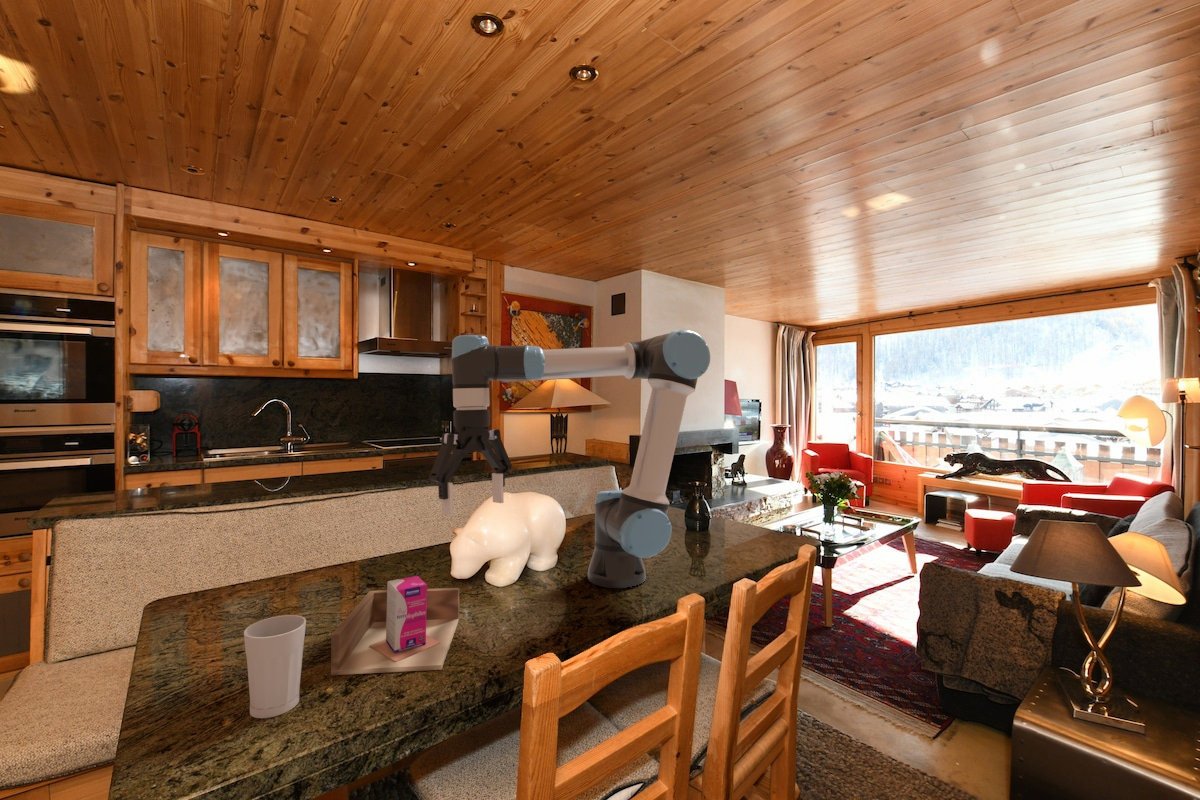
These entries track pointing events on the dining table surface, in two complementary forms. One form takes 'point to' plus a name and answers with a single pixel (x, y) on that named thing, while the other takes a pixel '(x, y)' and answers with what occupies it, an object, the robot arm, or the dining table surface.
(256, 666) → the cup
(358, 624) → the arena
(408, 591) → the supplement box
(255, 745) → the dining table surface
